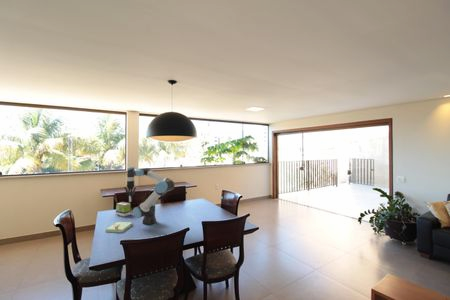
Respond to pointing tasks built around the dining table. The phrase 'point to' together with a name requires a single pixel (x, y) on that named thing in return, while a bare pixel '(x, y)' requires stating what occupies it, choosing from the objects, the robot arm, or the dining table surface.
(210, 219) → the dining table surface
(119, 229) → the putting mat
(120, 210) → the tea box
